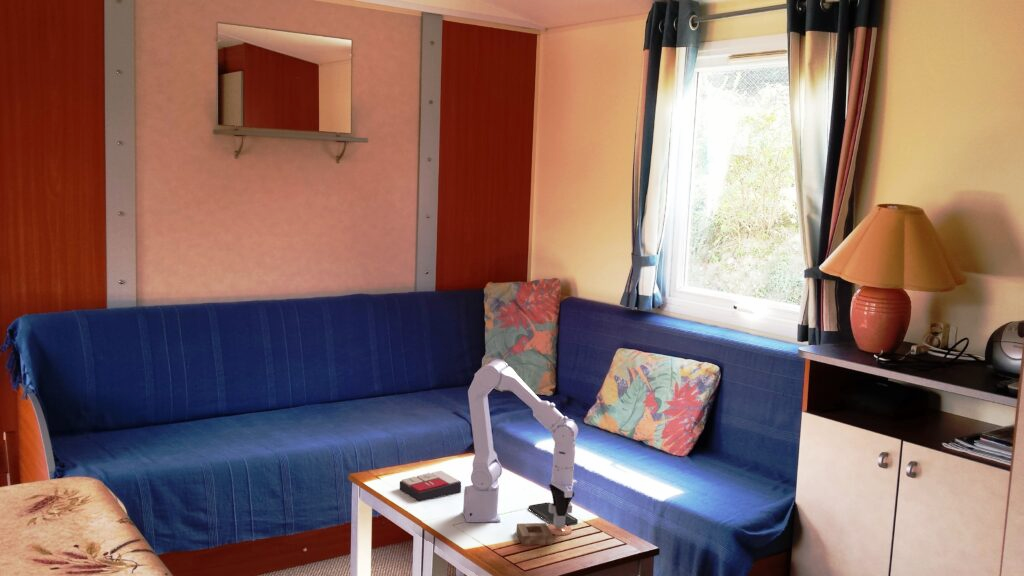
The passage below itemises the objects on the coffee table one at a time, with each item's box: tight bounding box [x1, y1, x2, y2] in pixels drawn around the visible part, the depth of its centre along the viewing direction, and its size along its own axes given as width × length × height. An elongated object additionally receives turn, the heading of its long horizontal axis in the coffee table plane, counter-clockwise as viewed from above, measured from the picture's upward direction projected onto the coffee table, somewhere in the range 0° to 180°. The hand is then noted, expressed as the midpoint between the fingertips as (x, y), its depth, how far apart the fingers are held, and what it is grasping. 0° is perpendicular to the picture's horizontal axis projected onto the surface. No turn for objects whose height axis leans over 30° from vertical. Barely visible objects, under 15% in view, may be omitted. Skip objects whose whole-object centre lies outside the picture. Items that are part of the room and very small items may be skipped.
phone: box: [528, 502, 579, 526], centre depth 253 cm, size 8×1×15 cm
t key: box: [548, 502, 573, 528], centre depth 242 cm, size 6×3×6 cm, turn 101°
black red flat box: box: [399, 470, 462, 502], centre depth 266 cm, size 11×4×15 cm
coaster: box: [547, 523, 573, 536], centre depth 243 cm, size 7×7×1 cm
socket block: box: [516, 522, 554, 546], centre depth 236 cm, size 8×8×2 cm
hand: (559, 513), depth 242 cm, fingers closed on t key, 2 cm apart
